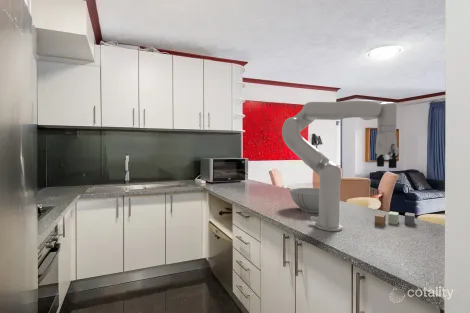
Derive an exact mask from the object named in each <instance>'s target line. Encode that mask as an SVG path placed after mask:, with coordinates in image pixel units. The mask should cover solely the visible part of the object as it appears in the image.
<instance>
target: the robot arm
mask: <svg viewBox="0 0 470 313" xmlns="http://www.w3.org/2000/svg"><path fill="white" fill-rule="evenodd" d="M397 111H398V110H397V104H396V103H395V102H391V101H390V102H382V103H379V102H377V101H376V100H375V101H374V100H347V101H308V102H306V103H305V104H304V105H303V106H302V109H301V110H300V111H299V112H297V114H296V115H294V116H292V117H288V118H286V119H285V121H284V122H283V125H282V127H281V135H282V140H283V142H284V144H285V145H286V146H287V148H288V149H290V151H291V152H293V153H294V155H296V156H297V157H298V158H299V159H300V160H302V162H303V163H304V164H305V166H308V168H310V169H311V170H312V171H313V172H314V173H316V174H317V175H318V176H319V183H318V185H319V186H318V189H319V212H318V216H314V215H311V216H310V221H313V222H315V223H314V227H315V228H317V229H318V230H323V231H328V232H339V231H342V230H343V225H341V223H340V211H341V210H340V207H341V206H340V204H341V182H342V181H341V180H342V172H341V167H339V165H338V164H336V163H334V162H333V161H331V160H330V159H329V158H328V157H327V156H325V155H324V153H322V152H321V151H320V149H317V148H316V146H314V145H312V144H311V143H310V142H309V141H308V140H306V139H305V138H304V137H303V136H302V135H301V132H302V131H303V130H305V129H306V128H307V127H308V126H310V125H311V124H312V123H313V122H314V121H315V120H317V121H319V120H322V121H323V120H324V121H325V120H329V121H335V120H337V121H338V120H343V119H351V118H360V119H362V120H363V121H371V120H377V133H376V139H375V155H376V156H375V158H376V167H379V168H383V167H385V158H384V157H385V155H387V156H388V168H389V169H396V168H397V159H398V156H399V152H400V149H399V147H398V139H397Z"/></svg>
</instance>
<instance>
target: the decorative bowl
mask: <svg viewBox="0 0 470 313" xmlns="http://www.w3.org/2000/svg"><path fill="white" fill-rule="evenodd" d="M289 194H290V197H291V200H292V201H293V203H295V205H296V206H297V207H299V208H300V210H301V211H303V212H306V213H314V214H315V213H319V188H316V187H295V188H290V189H289Z"/></svg>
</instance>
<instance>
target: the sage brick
mask: <svg viewBox="0 0 470 313" xmlns="http://www.w3.org/2000/svg"><path fill="white" fill-rule="evenodd" d="M399 214H400V213H399V212H397V211H391V210H390V211H389V212H388V216H387V220H388V221H387V223H388V224H391V225H398V223H399V221H400V220H399V216H400V215H399Z"/></svg>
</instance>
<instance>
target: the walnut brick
mask: <svg viewBox="0 0 470 313" xmlns="http://www.w3.org/2000/svg"><path fill="white" fill-rule="evenodd" d="M385 225H386V214H385V213H379V212H376V214H375V215H374V226H377V227H385Z"/></svg>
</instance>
